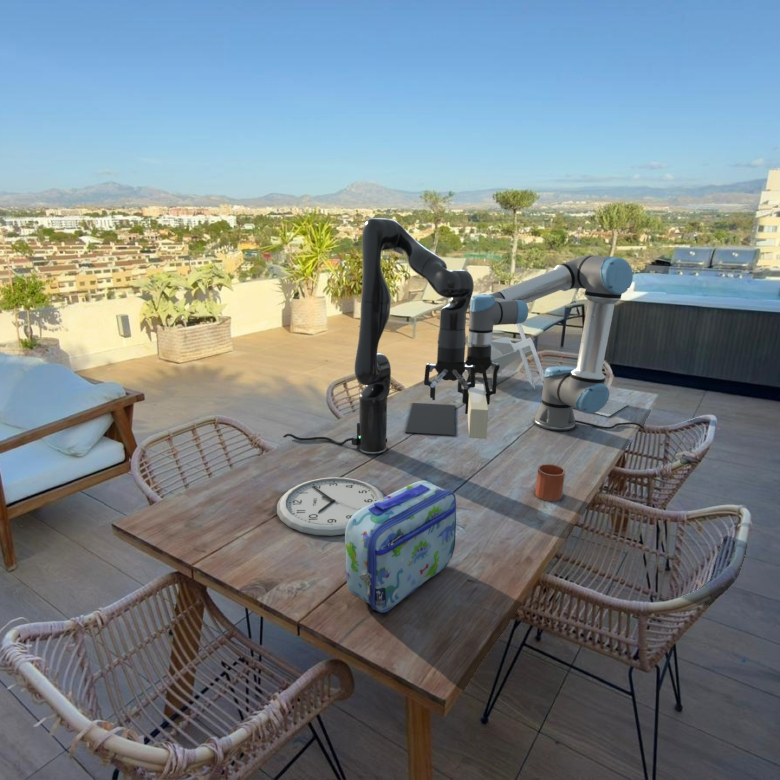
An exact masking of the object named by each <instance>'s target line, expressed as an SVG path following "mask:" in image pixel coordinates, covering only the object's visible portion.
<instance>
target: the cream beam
mask: <svg viewBox="0 0 780 780" xmlns="http://www.w3.org/2000/svg"><path fill="white" fill-rule="evenodd" d="M468 393H469V400H468V414H467V424H468V425H467V427H468V438H469V439H483V440H485V439H487V435H488V419H489V405H487V400H486V389H485V384H484V383H475V387H473V388H469V389H468Z"/></svg>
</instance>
